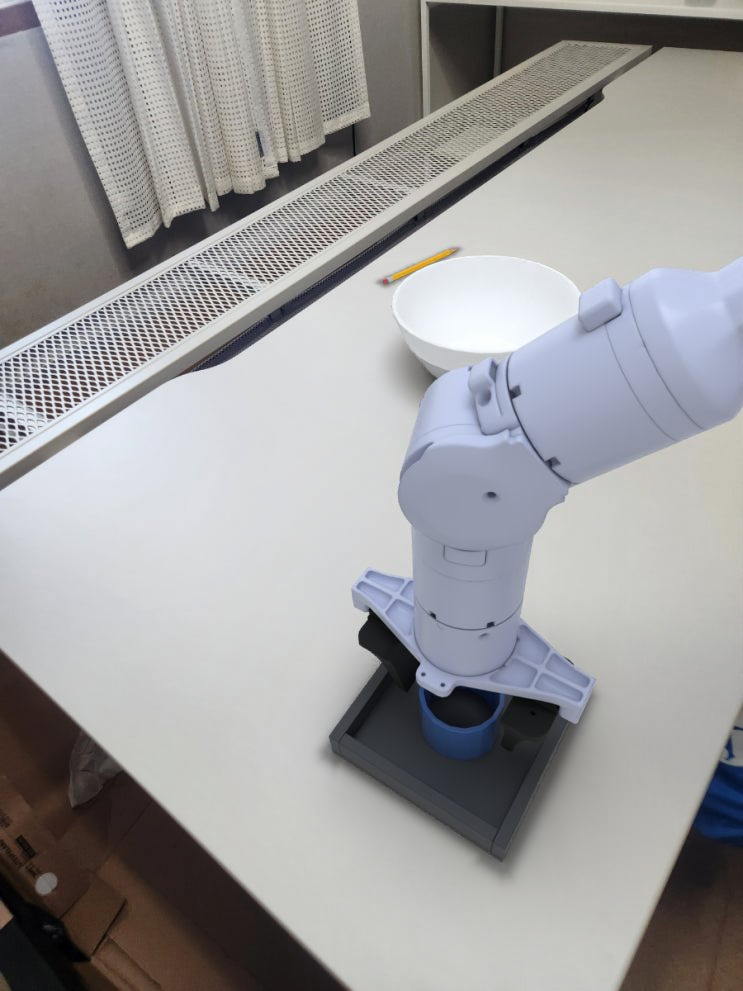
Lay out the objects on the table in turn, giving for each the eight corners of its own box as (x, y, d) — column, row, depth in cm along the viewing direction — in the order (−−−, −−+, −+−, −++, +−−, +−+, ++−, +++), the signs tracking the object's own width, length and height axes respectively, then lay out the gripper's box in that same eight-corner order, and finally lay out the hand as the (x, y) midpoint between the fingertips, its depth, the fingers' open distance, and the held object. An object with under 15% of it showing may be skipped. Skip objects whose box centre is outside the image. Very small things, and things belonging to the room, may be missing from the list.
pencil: (382, 284, 90) (382, 279, 89) (455, 250, 95) (455, 245, 94) (386, 286, 89) (385, 281, 89) (459, 251, 94) (459, 247, 94)
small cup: (513, 711, 47) (518, 679, 43) (476, 778, 44) (479, 748, 40) (444, 674, 49) (445, 641, 46) (405, 735, 46) (403, 704, 43)
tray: (582, 696, 47) (588, 679, 45) (502, 862, 40) (505, 849, 38) (427, 617, 52) (427, 599, 51) (332, 751, 45) (328, 736, 44)
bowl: (358, 373, 76) (352, 307, 70) (468, 302, 84) (471, 238, 79) (498, 448, 65) (504, 378, 59) (606, 359, 74) (621, 291, 68)
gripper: (310, 578, 36) (336, 700, 45) (572, 716, 29) (537, 823, 39) (383, 495, 40) (392, 624, 49) (627, 602, 33) (583, 725, 43)
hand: (460, 706), depth 44 cm, fingers open, 7 cm apart
